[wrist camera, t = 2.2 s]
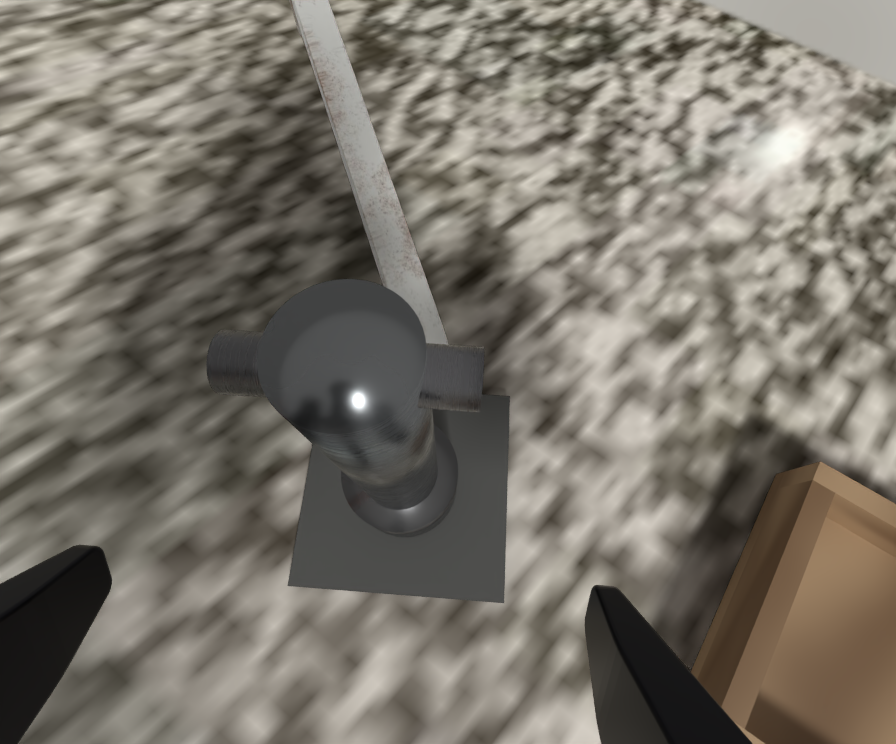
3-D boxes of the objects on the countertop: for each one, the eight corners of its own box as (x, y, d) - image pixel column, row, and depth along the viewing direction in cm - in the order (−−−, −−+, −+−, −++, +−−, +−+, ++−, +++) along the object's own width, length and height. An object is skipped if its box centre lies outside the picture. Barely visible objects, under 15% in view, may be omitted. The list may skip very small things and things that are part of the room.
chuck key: (464, 439, 20) (490, 252, 8) (458, 541, 19) (478, 494, 7) (358, 431, 21) (231, 235, 8) (343, 532, 19) (165, 471, 7)
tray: (1039, 628, 18) (1130, 637, 16) (974, 932, 15) (1074, 1000, 13) (776, 474, 20) (820, 461, 18) (672, 714, 17) (708, 737, 15)
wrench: (416, 402, 25) (275, -34, 32) (451, 391, 25) (303, -40, 32) (410, 354, 17) (226, -209, 24) (461, 338, 17) (263, -215, 24)
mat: (502, 602, 19) (504, 602, 18) (290, 585, 19) (287, 585, 18) (508, 399, 21) (509, 396, 21) (325, 386, 22) (323, 383, 21)
